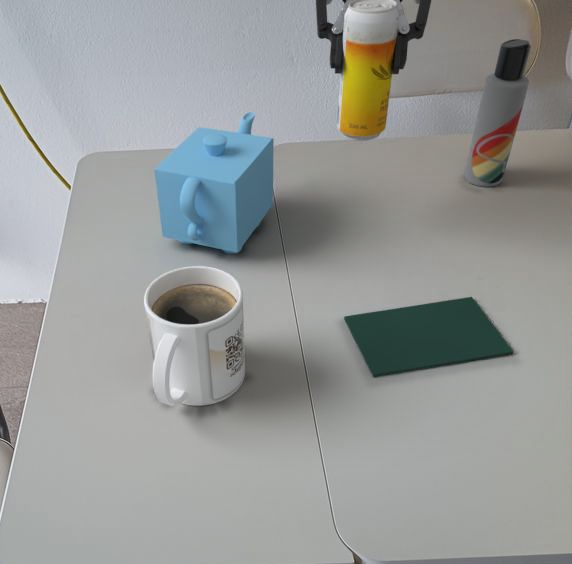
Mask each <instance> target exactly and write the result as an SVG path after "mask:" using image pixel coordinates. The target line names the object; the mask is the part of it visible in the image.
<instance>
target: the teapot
mask: <svg viewBox="0 0 572 564" xmlns="http://www.w3.org/2000/svg"><path fill="white" fill-rule="evenodd" d="M255 117H256V113H255V112H253V111H250V112H247V113H245V114H244V115H243V116H242V118H241V119H240V122H239V126H238V128H237V131H236V132H235V131H229V130H222V129H214V128H208V127H201V126H199V127H197V128H196V129H195V130H194V131H193V132H192V133H191V134H190V135H188V136H187V137H186V138H185V139H184V140H183V141H182V142H181V143H180V144H179V145H177V147H176V148H175V149H174V150H172V152H171V153H169V154H168V155H167V156H166V157H165V158H164V159H163V160H162V161H161V162H160V163H159V164H158V165H157V166H156V167H155V169H154V178H155V186H156V194H157V201H158V210H159V219H160V225H161V233H162V237H163V238H168V239H171V240H172V239H173V240H176V241H179V242H180V243H181V244H184V245H189V244H196V245H200V246H205V247H209V248H212V249H213V248H214V249H218V250H221V251H223V252H224V253H227V254H237V253H239V252H241V251H242V250H243V247H244V245H245V243H246V242H247V240H248V239H249V238H250V236H251V235H252V233H254V231H255V230H256V228H258V227H259V226H260V225H261V221H262V220H263V219H264V217H265V216H266V215H267V213H268V212H269V210H270V209H271V208H272V206H273V205H274V145H275V143H274V142H275V141H274V140H275V139H274V138H273V137H268V136H261V135H255V134H252V128H253V123H254V120H255Z"/></svg>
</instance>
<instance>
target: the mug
mask: <svg viewBox="0 0 572 564" xmlns="http://www.w3.org/2000/svg"><path fill="white" fill-rule="evenodd" d="M143 306H144V312H145V313H144V314H145V318H146V325H147V331H148V336H149V342H150V348H151V354H152V360H153V361H152V362H153V365H152V386H153V391H154V394H155V396H156V399H157V400H158V402H160V403H162V404H165V405H167V406H171V407H177V406H179V405H181V404H182V405H186V406H194V407H197V406H198V407H200V406H209V405H213V404H217V403H220V402H222V401H224V400H226V399H228V398H230V397H232V395H234V394H235V393H236V392H237V391H238V390H239V388H241V386H242V384H243V382H244V380H245V377H246V355H245V354H246V353H245V349H246V348H245V322H244V321H245V320H244V319H245V318H244V317H245V316H244V293H243V288H242V285H241V284H240V281H238V279H237V278H236V277H234V276H233V275H232V274H231V273H228V272H227V271H225V270H222V269H220V268H216V267H214V266H213V267H212V266H206V265H190V266H188V265H187V266H182V267H178V268H175V269H172V270H169V271H167V272H164V273H162V274H161V275H158V277H157V278H155V279H153V281H152V282H151V283H150V284H149V285H148V286H147V288H146V290H145V292H144V296H143Z"/></svg>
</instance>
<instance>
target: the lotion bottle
mask: <svg viewBox="0 0 572 564" xmlns="http://www.w3.org/2000/svg"><path fill="white" fill-rule="evenodd" d="M531 50H532V45H531V44H530V41H529V40H527V39H521V38H514V39H513V38H512V39H509V40H507V41H504V42H502V43H501V44H500V48H499V52H498V56H497V60H496V63H495V64H496V65H495V69H494V72H491V73H490V74H487V76H486V78H485V81H484V84H483V89H482V93H481V98H480V101H479V106H478V111H477V115H476V120H475V123H474V129H473V133H472V137H471V140H470V145H469V146H470V147H469V151H468V155H467V159H466V164H465V168H464V173H463V174H464V179H465V181H467V183H469V184H471V185H473V186H478V187H482V188H483V187H484V188H487V187H495V186H498V185H500V184H501V183H502V181H503V179H504V176H505V172H506V169H507V167H508V166H507V165H508V162H509V158H510V155H511V151H512V148H513V143H514V140H515V137H516V132H517V129H518V127H519V122H520V118H521V115H522V111H523V107H524V104H525V100H526V96H527V93H528V89H529V85H530V79H529V78H528V77H527V76H526V75H525V71H526V68H527V64H528V60H529V56H530V53H531Z"/></svg>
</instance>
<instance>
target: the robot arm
mask: <svg viewBox="0 0 572 564" xmlns="http://www.w3.org/2000/svg"><path fill="white" fill-rule="evenodd" d="M341 1H342V3H343V4H344V5H343V6H342V8H341V10H340V13H339V15H338V17H337V18H336V20H335V21H334V23H331V22H329V21H328V7H327V6H328V5H330V4H331V3H332V2H333V0H315V13H316V32H317V33H316V34H317V37H318V39H320V40H324V39H326V40H328V41H330V50H329V51H330V52H329V67H330V69H332V70H333V69H334V74H339V75H340V74H341V63H342V49H343V29H344V15H345V13H346V11H347V9H348V7H349V3H350V2H351V1H353V0H341ZM394 1H395V2H396V3H397V9H398V12H399V21H398V29H397V38H396V45H395V53H394V61H393V70H392V75H400V74H399V73H400V70H404V69H405V66H406V63H407V60H408V58H407V57H408V45H409V42H410V41H411V40H414V39H416V40H421V39H422V38H423V37H424V34H425V29H426V26H427V23H428V17H429V15H430V10H431V4H432V0H413V2H414V3H415V4H417V5H418V8H417V13H416V17H415V21H414V22H411V23H409V22H408V20H407V17H406V14H405V11H404V7H403V4H402V2H403V1H404V0H394Z"/></svg>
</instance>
